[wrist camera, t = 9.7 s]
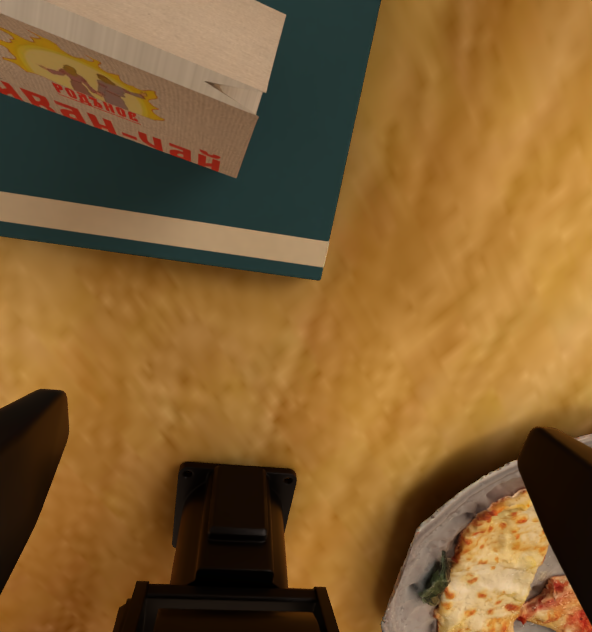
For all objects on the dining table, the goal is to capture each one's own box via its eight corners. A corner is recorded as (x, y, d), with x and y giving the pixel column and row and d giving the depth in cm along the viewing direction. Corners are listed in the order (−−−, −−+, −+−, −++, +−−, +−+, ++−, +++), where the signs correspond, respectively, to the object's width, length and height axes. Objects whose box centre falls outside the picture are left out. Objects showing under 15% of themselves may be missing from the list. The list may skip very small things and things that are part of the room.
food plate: (617, 653, 38) (650, 704, 34) (350, 661, 34) (360, 718, 31) (794, 416, 27) (866, 458, 24) (434, 396, 24) (462, 441, 21)
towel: (316, 270, 20) (321, 281, 19) (-19, 222, 18) (-40, 231, 17) (401, -132, 14) (416, -155, 13) (-77, -274, 12) (-116, -318, 11)
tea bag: (65, -46, 14) (-304, -343, 5) (273, 46, 15) (306, -40, 6) (48, 81, 15) (-262, 47, 6) (241, 154, 16) (228, 214, 7)
